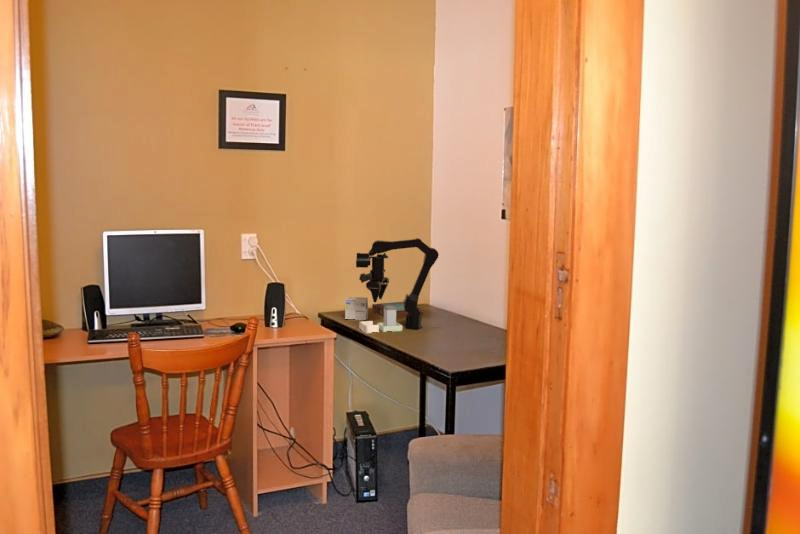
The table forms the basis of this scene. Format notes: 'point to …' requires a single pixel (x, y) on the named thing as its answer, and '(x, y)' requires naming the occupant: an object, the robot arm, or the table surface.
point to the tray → (390, 327)
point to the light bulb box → (356, 308)
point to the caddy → (389, 316)
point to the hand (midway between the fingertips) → (377, 300)
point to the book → (399, 305)
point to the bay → (368, 326)
